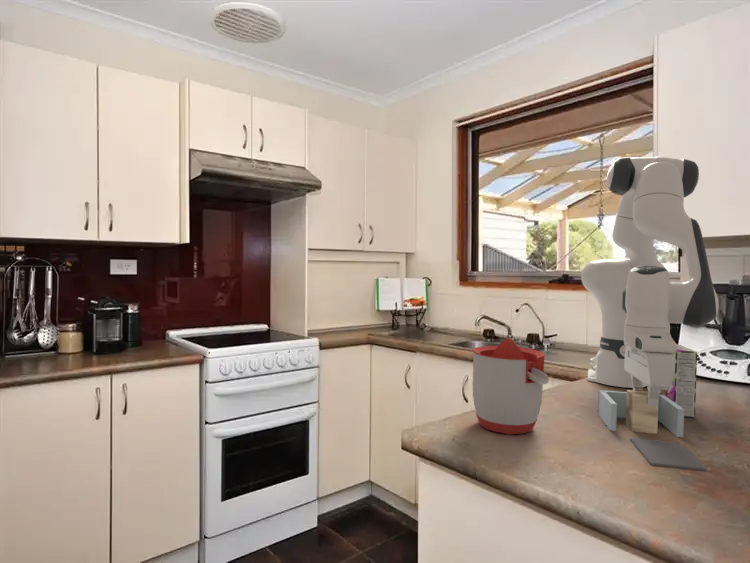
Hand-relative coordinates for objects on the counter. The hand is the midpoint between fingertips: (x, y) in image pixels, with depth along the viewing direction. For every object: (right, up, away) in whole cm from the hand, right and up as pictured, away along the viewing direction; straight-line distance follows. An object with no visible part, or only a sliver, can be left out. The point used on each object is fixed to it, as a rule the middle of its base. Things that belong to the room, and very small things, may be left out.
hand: (644, 400), depth 106 cm
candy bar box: (+16, -7, +15) cm, 23 cm away
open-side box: (0, -6, +3) cm, 7 cm away
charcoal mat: (-4, -7, -14) cm, 16 cm away
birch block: (0, -7, +1) cm, 7 cm away
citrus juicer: (-30, -6, 0) cm, 31 cm away
